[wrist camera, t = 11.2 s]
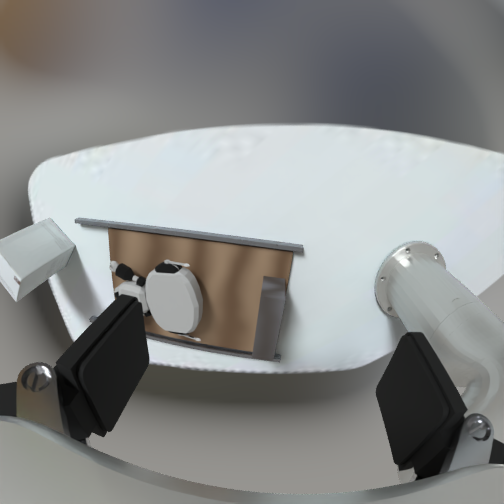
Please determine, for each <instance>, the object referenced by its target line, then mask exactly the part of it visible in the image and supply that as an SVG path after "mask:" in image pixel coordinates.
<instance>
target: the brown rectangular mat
mask: <svg viewBox="0 0 504 504" xmlns="http://www.w3.org/2000/svg"><path fill="white" fill-rule="evenodd" d="M108 235H109V250H110V261H116V262H117V263H118V264H121V263H123V264H125V265H127V266H128V267H130V268H131V269H132V271H133V272H134V274H135V275H136V276H137V277H140V276H143V277H145V278H146V279H147V276H148V274H149V273H150V272H151V271H153V270H154V269H155V267H156V266H157V265H159V264H160V263H162V262H164V261H165V260H170V261H173V262H178V263H184V264H185V263H187V264H189V265H190V266H188V267H185V266H182V265H181V266H182V267H185V268H186V269H188V270H190V271H191V273H192V274H193V275H194V276H195V278H196V280H197V282H198V285H199V287H200V291H201V294H202V298H203V313H202V318H201V320H200V322H199V324H198V325H197V327H196V328H195V330H194V331H193V332H189V334H186V335H189V336H192V337H195V338H199V339H200V340H201V341H196V340H194V339H191V338H188V337H185V336H180V335H178V334H174V333H170V332H168V331H165V330H164V329H162V328H161V327H160V326H159V325H158V324H157V323H156V321H155V320H154V318H153V316H152V315H151V316H148V317H146V316H145V315H144V324H145V331H147V332H151V333H155V334H159V335H164V336H168V337H173V338H177V339H182V340H187V341H192V342H197V343H202V344H207V345H213V346H219V347H224V348H231V349H237V350H243V351H250V352H253V353H252V358H255V359H262V360H270V361H273V360H274V355H275V350H276V345H277V340H278V336H279V331H280V326H281V320H282V315H283V310H284V305H285V296H286V290H287V285H288V279H289V274H290V268H291V262H292V256H293V251H289V250H281V249H274V248H266V247H259V246H251V245H244V244H236V243H229V242H221V241H213V240H206V239H198V238H190V237H182V236H174V235H167V234H159V233H151V232H143V231H135V230H127V229H119V228H111V227H110V228H108ZM112 280H113V288H114V290H115V288H116V287H118V286H119V285H120V284H121V283H123V282H125V281H127V280H123V279H121V278H119V277H118V276H116V275H115V272H112ZM114 294H115V293H114ZM115 300H116V298H115Z"/></svg>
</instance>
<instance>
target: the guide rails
mask: <svg viewBox="0 0 504 504" xmlns="http://www.w3.org/2000/svg"><path fill="white" fill-rule="evenodd" d="M75 223H79V224H87V225H95V226H103V227H112V228H120V229H128V230H136V231H144V232H152V233H160V234H168V235H175V236H183V237H191V238H199V239H207V240H214V241H222V242H230V243H237V244H245V245H252V246H260V247H267V248H275V249H282V250H290V251H297V252H303V245H299V244H291V243H284V242H276V241H269V240H261V239H254V238H246V237H238V236H231V235H223V234H215V233H207V232H199V231H191V230H183V229H174V228H166V227H157V226H149V225H140V224H132V223H123V222H114V221H105V220H96V219H86V218H77V219H75ZM97 318H98V317H94V316H92V317H91V318H90V319H89V320H90V322H94V321H95V320H96V319H97ZM145 332H146V338H149V339H153V340H157V341H161V342H165V343H170V344H174V345H179V346H183V347H188V348H193V349H198V350H203V351H209V352H214V353H220V354H226V355H232V356H238V357H245V358H252V353H253V352H250V351H243V350H237V349H231V348H224V347H219V346H213V345H207V344H202V343H197V342H192V341H187V340H182V339H177V338H173V337H168V336H164V335H159V334H155V333H151V332H147V331H145ZM252 359H255V358H252ZM259 360H262V359H259ZM280 360H281V355H278V354H275V355H274V360H273V361H275V362H280ZM267 361H270V360H267Z"/></svg>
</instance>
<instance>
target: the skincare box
mask: <svg viewBox="0 0 504 504" xmlns="http://www.w3.org/2000/svg"><path fill="white" fill-rule="evenodd" d="M74 247H75V245H74V244H73V243H72V241H71V240H70V239H69V238H68V237H67V236H66V235H65V234H64V233H63V232H62V231H61V230H60V229H59V227H58V226H57V225H56V224H55V223H54V222H53V221H52V219H51V218H48V219H45V220H43V221H41V222H38V223H36V224H34V225H31V226H29V227H27V228H25V229H22V230H20V231H18V232H16V233H14V234H12V235H9V236H7V237H5V238H3V239H1V240H0V282H1V283H2V284H3V286H4V287H5V288H6V290H7V291H8V292H9V293H10V295H11V296H12V297H13V298H14V300H15V301H16V302H17V301H18V300H20V299H21V298H22V297H24V296H25V295H26V294H28V293H29V292H30V291H32V290H33V289H34V288H35V287H37V286H38V285H40V284H41V283H42V282H44V281H45V280H47V279H48V278H49V277H51V276H52V275H54V274H55V273H56V272H58V271H59V270H61V269H62V268H64V267H65V266H66V264H67V262H68V260H69V258H70V256H71V254H72V252H73V250H74Z"/></svg>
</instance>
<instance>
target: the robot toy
mask: <svg viewBox="0 0 504 504" xmlns="http://www.w3.org/2000/svg"><path fill="white" fill-rule="evenodd" d="M110 264H111V265H110V270H111V271H112V272H115V275H116V276H118V277H119V278H121V279H123V280H127V281H125V282H123V283H121V284H120V285H119V286H118V287H116V288H115V290H114V293H115V294H114V295H115V298H116V299H117V298H118V297H119V296H120V295H121V294H125V295H130V296H134V297H137V298H138V301H139V302H141V303H142V307H143V316H144V315H145V316H146V317H148V316H151V315H152V316H153V318H154V320H155V321H156V323H157V324H158V325H159V326H160V327H161V328H162V329H164V330H165V331H168V332H170V333H174V334H178V335H180V336H185V337H188V338H191V339H194V340H196V341H201V340H200V339H199V338H195V337H192V336H189V335H186V334H189V332H193V331H194V330H195V328H196V327H197V325H198V324H199V322H200V320H201V318H202V313H203V298H202V294H201V291H200V287H199V285H198V282H197V280H196V278H195V276H194V275H193V274H192V273H191V271H190V270H188V269H186V268H185V267H188V266H190V265H189V264H187V263H185V264H184V263H178V262H173V261H170V260H165V261H164V262H162V263H160V264H159V265H157V266H156V267H155V269H154V270H153V271H151V272H150V273H149V274H148V276H147V279H146V278H145V277H143V276H140V277H137V276H136V275H135V274H134V272H133V271H132V269H131V268H130V267H128V266H127V265H125V264H123V263H121V264H118V263H117V262H116V261H111V262H110ZM181 265H182V266H185V267H182V266H181Z"/></svg>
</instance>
